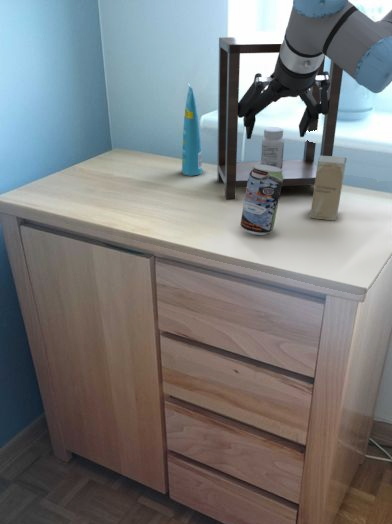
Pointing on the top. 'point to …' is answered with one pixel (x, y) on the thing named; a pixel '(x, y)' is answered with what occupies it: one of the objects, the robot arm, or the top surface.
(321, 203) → the box
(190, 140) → the tube
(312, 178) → the rack
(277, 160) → the pill bottle
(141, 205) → the top surface
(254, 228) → the beverage can
